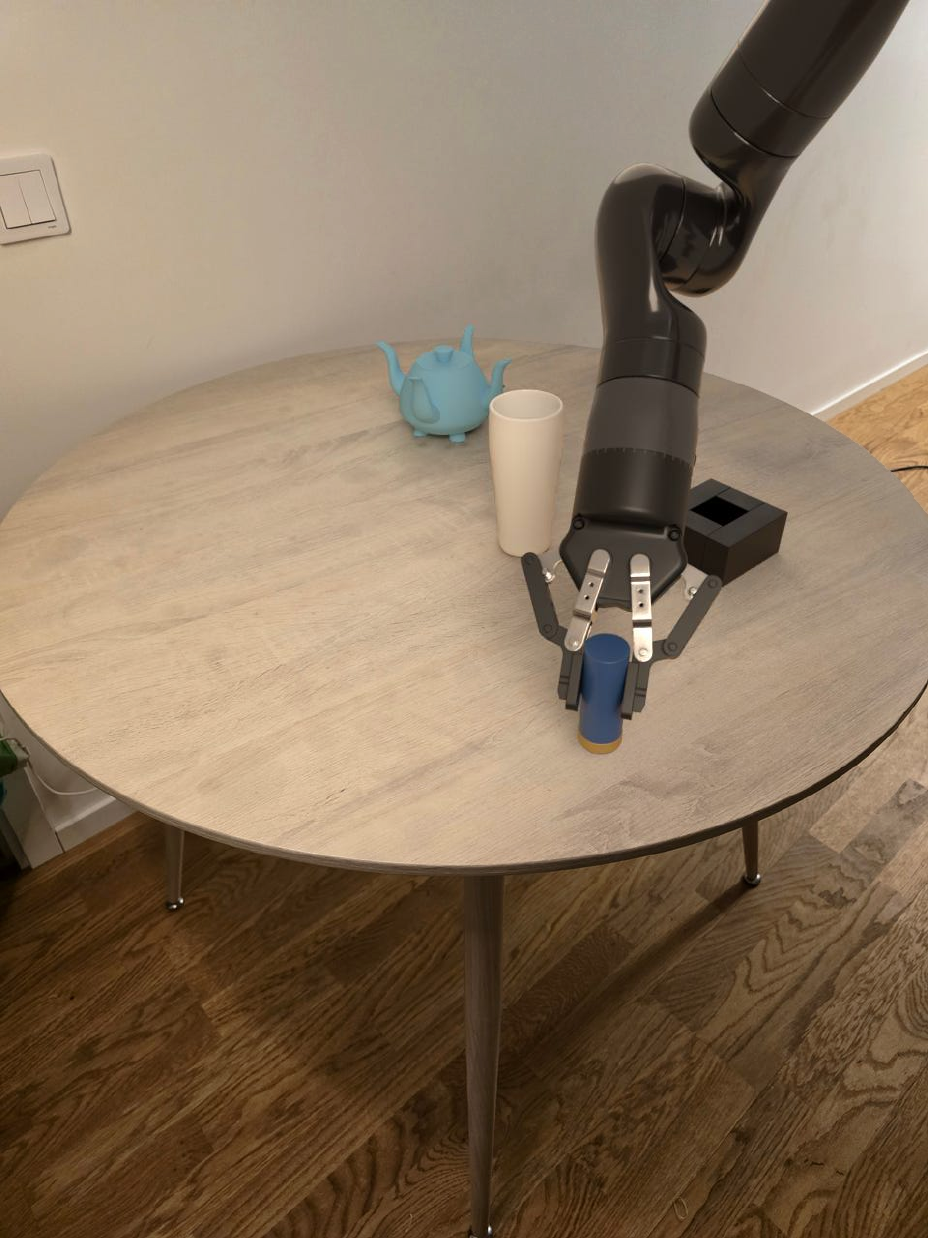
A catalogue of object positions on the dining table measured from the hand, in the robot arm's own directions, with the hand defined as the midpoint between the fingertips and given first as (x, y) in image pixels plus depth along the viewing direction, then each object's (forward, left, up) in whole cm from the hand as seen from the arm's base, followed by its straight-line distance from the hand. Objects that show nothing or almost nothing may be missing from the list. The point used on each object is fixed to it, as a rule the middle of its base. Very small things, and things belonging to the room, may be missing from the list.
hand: (599, 713), depth 57 cm
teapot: (+52, -29, -8) cm, 60 cm away
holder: (+13, -31, -8) cm, 34 cm away
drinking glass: (+26, -18, -8) cm, 33 cm away
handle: (+1, -2, -4) cm, 5 cm away
